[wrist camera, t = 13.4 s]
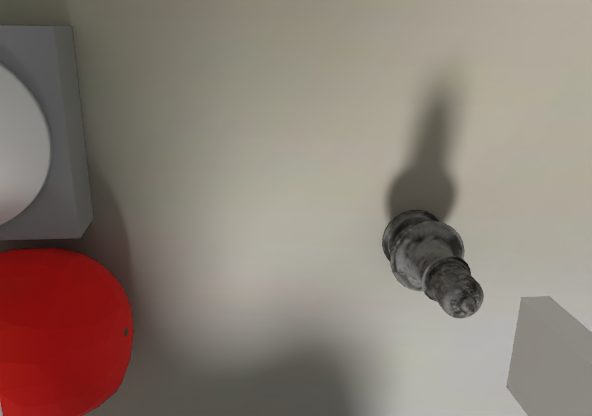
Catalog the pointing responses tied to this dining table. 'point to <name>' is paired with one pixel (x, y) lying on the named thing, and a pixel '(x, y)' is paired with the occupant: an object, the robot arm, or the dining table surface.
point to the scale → (41, 136)
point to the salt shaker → (432, 262)
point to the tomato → (60, 333)
